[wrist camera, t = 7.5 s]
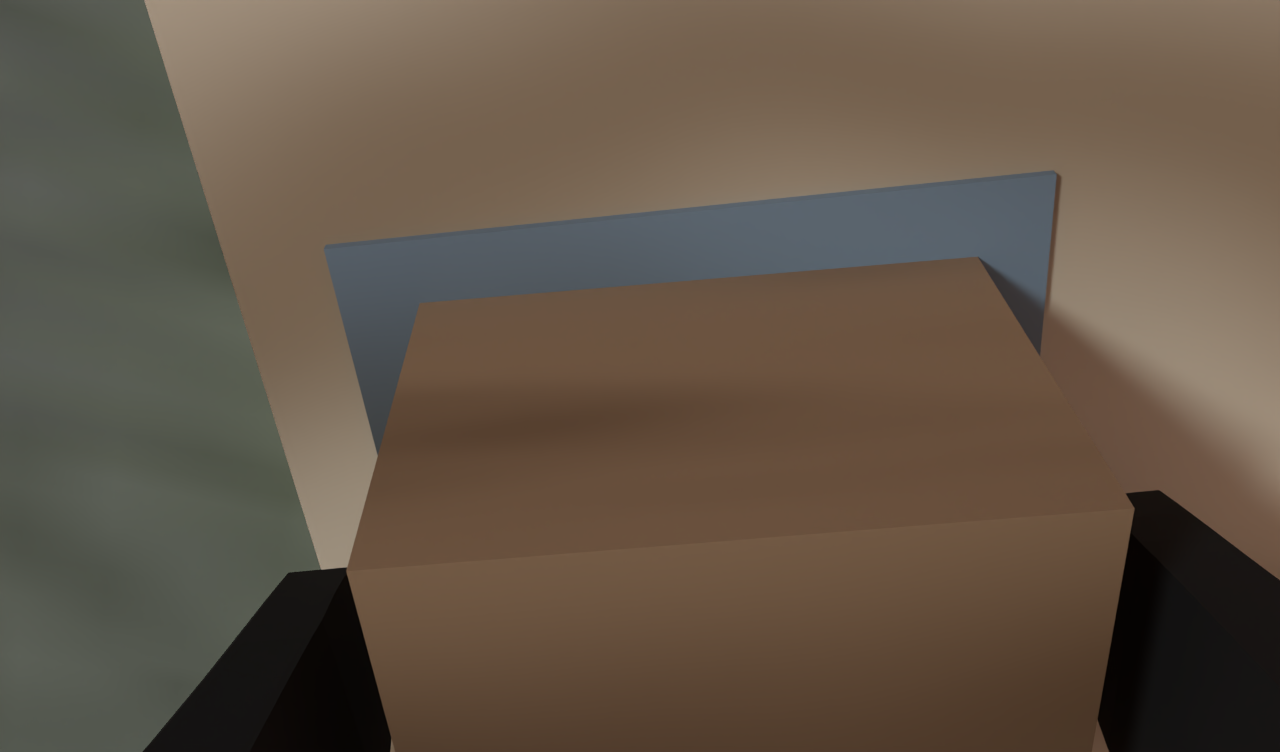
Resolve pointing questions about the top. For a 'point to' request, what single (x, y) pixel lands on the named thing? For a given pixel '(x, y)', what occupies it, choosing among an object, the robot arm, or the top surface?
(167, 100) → the top surface
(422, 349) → the walnut block
